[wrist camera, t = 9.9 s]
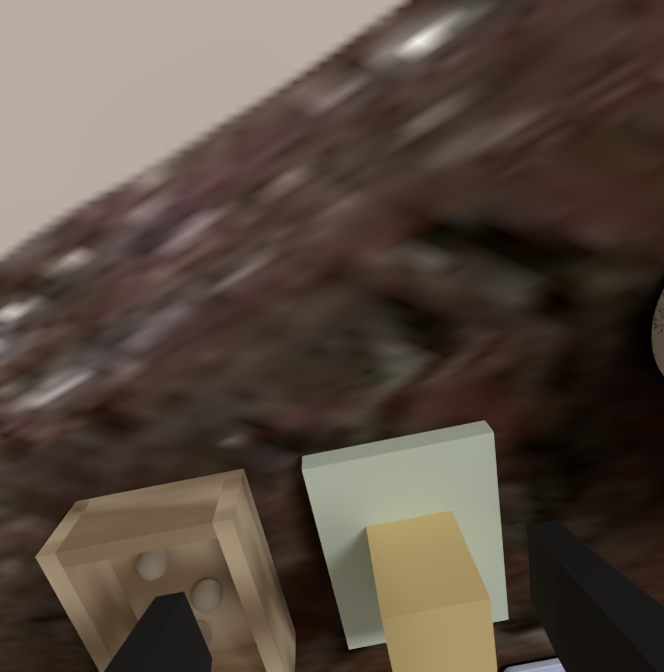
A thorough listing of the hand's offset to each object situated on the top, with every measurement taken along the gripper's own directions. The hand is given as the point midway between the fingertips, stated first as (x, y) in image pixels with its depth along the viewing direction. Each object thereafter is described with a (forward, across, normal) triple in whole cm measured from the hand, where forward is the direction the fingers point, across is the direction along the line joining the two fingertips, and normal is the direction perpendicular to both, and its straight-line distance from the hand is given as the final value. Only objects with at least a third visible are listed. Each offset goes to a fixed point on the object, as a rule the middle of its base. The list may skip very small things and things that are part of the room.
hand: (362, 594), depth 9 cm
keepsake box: (+10, +9, +9) cm, 16 cm away
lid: (+10, -2, +9) cm, 14 cm away
